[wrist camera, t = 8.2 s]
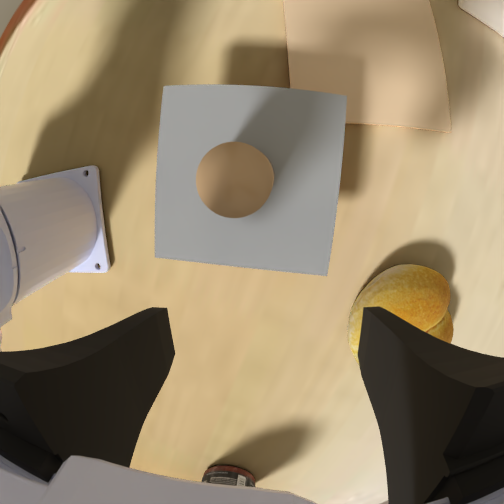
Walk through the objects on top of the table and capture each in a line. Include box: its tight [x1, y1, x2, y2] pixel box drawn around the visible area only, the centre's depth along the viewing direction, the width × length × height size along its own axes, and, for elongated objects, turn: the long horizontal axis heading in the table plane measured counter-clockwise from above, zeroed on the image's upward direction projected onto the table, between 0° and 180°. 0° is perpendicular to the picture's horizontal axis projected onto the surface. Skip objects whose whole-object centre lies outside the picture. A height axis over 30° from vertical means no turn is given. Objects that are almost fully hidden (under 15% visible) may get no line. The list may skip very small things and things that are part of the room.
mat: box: [283, 0, 451, 133], centre depth 16 cm, size 11×11×1 cm
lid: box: [155, 85, 347, 276], centre depth 13 cm, size 9×9×4 cm
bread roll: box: [347, 264, 453, 364], centre depth 19 cm, size 8×9×4 cm
